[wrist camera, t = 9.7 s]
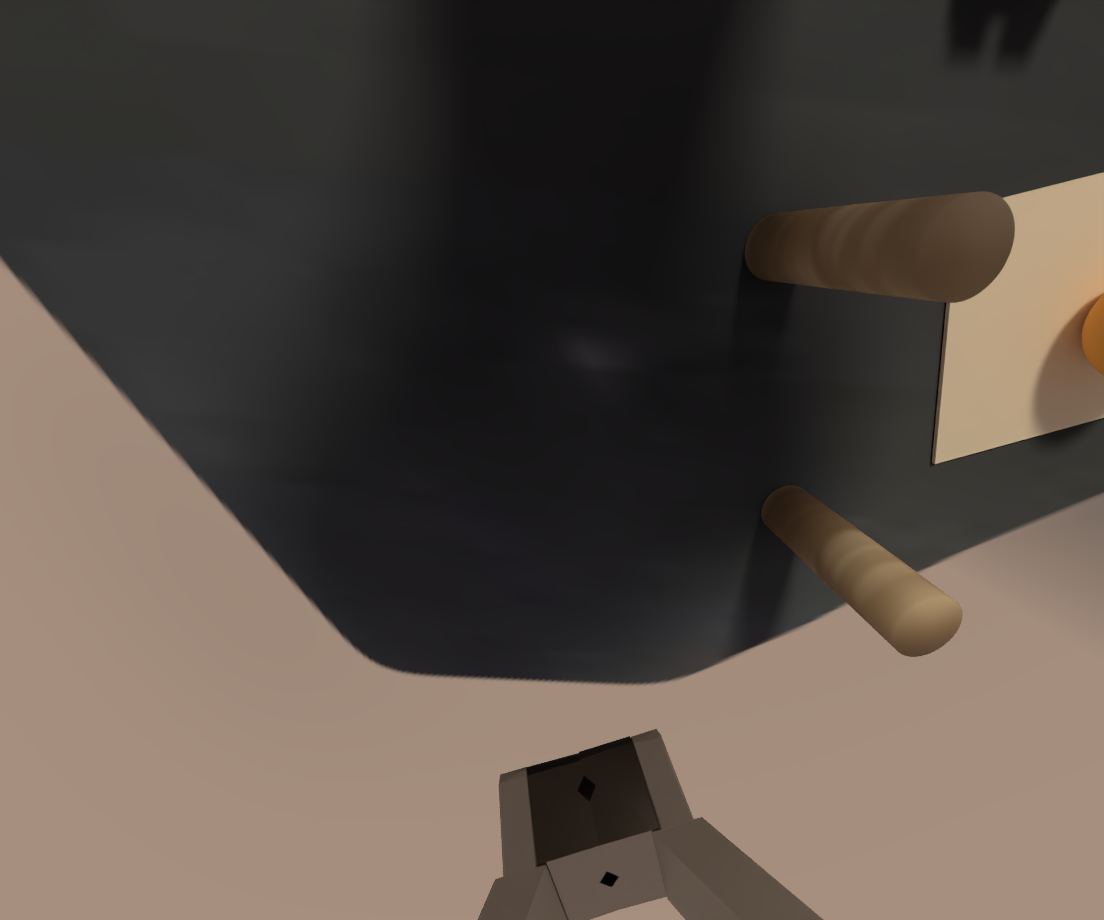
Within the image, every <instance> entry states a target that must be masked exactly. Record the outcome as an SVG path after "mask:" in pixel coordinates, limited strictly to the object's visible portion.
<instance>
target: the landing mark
mask: <svg viewBox="0 0 1104 920" xmlns="http://www.w3.org/2000/svg"><path fill="white" fill-rule="evenodd" d="M1003 199H1004V200H1005V201H1006V203H1007V204H1008V205H1009V207H1010V209H1011V211H1012V214H1013V217H1014V223H1015V235H1014V241H1013V246H1012V249H1011V252H1010V255H1009V257H1008V259H1007V261H1006V263H1005V265H1004V267H1003V269H1002V270H1001V272H1000V273H999V274H998V276H997V277H996V278H995V279H994V281H993V282H992V283H991V284H990V285H989V286H988V287H986V288H985V289H984V290H983V291H982V292H980V293H979V294H977V295H975V296H974V297H972V298H970V299H968V300H965V301H962V302H957V303H946V313H945V324H944V334H943V345H942V356H941V367H940V378H939V389H938V400H937V411H936V422H935V433H934V444H933V455H932V463H934V464H937V463H941V462H945V461H948V460H952V459H956V458H959V457H963V456H966V455H970V454H974V453H977V452H981V451H985V450H988V449H992V448H995V447H999V446H1003V445H1006V444H1010V443H1014V442H1017V441H1021V440H1025V439H1028V438H1032V437H1035V436H1039V435H1043V434H1046V433H1050V432H1054V431H1057V430H1061V429H1064V428H1068V427H1072V426H1075V425H1079V424H1083V423H1086V422H1090V421H1094V420H1097V419H1101V418H1104V376H1103V375H1102V374H1100V373H1099V372H1098V371H1097V370H1096V369H1095V368H1094V367H1093V366H1092V365H1091V364H1090V362H1089V361H1088V360H1087V358H1086V356H1085V354H1084V351H1083V347H1082V328H1083V325H1084V322H1085V319H1086V317H1087V315H1088V313H1089V311H1090V310H1091V308H1092V307H1093V306H1094V304H1095V303H1096V302H1097V301H1098V300H1099V299H1100V298H1101V297H1102V296H1103V295H1104V172H1103V173H1099V174H1095V175H1091V176H1087V177H1083V178H1079V179H1075V180H1071V181H1067V182H1063V183H1059V184H1055V185H1051V186H1047V187H1043V188H1039V189H1036V190H1032V191H1028V192H1024V193H1020V194H1016V195H1012V196H1008V197H1004V198H1003Z"/></svg>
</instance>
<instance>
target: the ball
mask: <svg viewBox="0 0 1104 920" xmlns="http://www.w3.org/2000/svg"><path fill="white" fill-rule="evenodd" d="M1082 347H1083V351H1084V354H1085V356H1086V358H1087V360H1088V361H1089V362H1090V364H1091V365H1092V366H1093V367H1094V368H1095V369H1096V370H1097V371H1098V372H1099V373H1100V374H1102V375H1103V376H1104V295H1103V296H1102V297H1101V298H1100V299H1099V300H1098V301H1097V302H1096V303H1095V304H1094V306H1093V307H1092V308H1091V310H1090V311H1089V313H1088V315H1087V317H1086V319H1085V322H1084V325H1083V328H1082Z"/></svg>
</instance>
